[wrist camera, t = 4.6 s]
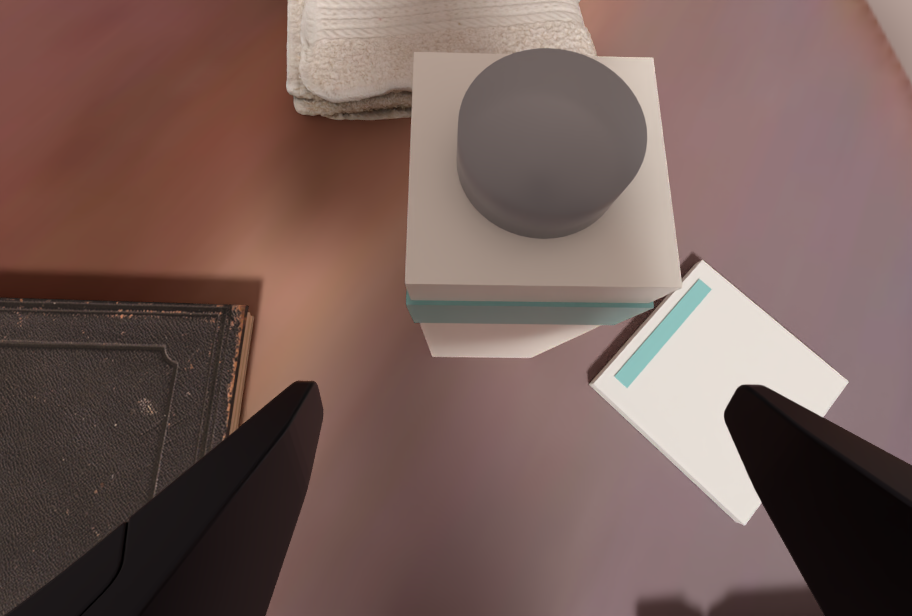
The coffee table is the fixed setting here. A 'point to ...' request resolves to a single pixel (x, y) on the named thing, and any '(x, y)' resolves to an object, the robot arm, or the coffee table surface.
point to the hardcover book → (104, 418)
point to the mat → (709, 380)
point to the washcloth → (407, 46)
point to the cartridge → (534, 199)
